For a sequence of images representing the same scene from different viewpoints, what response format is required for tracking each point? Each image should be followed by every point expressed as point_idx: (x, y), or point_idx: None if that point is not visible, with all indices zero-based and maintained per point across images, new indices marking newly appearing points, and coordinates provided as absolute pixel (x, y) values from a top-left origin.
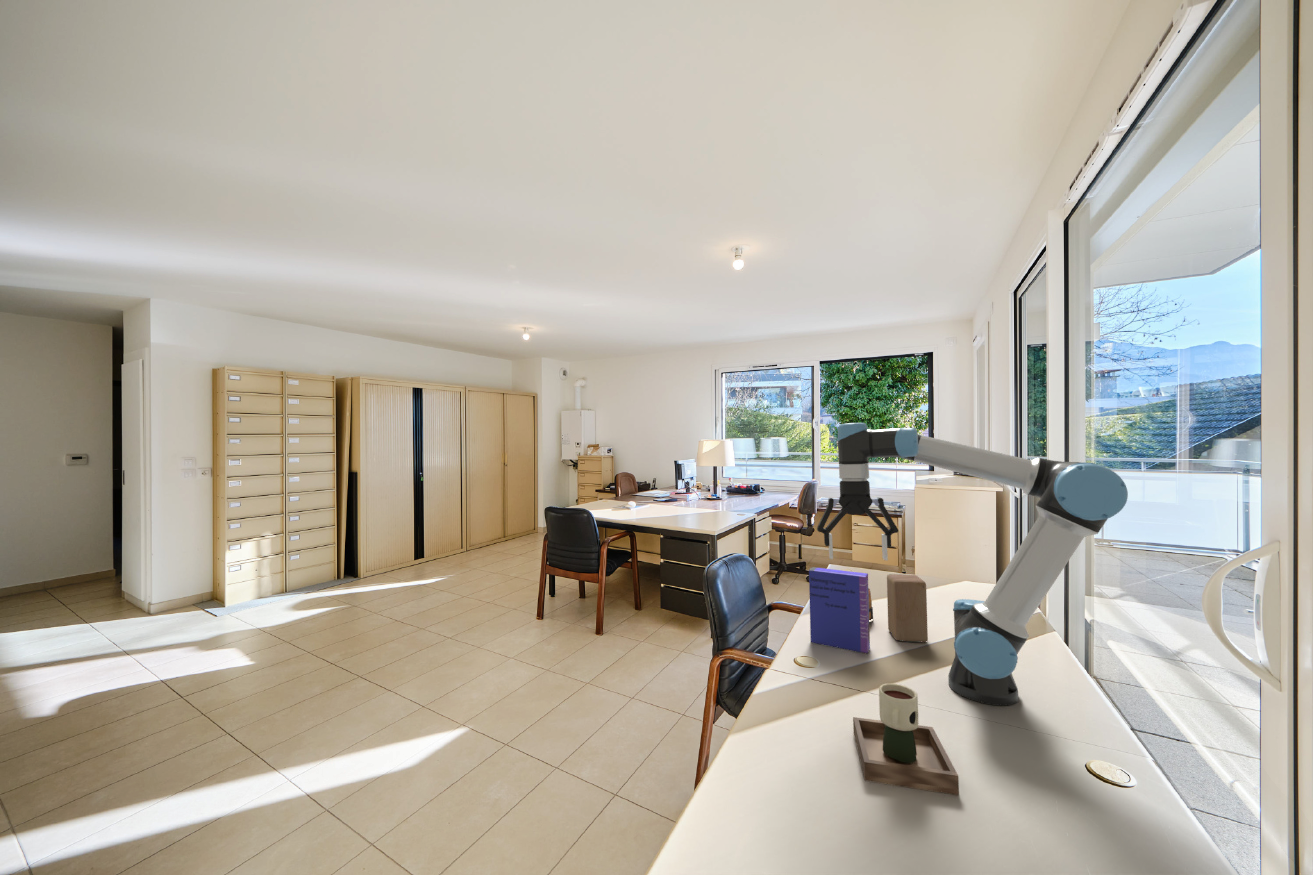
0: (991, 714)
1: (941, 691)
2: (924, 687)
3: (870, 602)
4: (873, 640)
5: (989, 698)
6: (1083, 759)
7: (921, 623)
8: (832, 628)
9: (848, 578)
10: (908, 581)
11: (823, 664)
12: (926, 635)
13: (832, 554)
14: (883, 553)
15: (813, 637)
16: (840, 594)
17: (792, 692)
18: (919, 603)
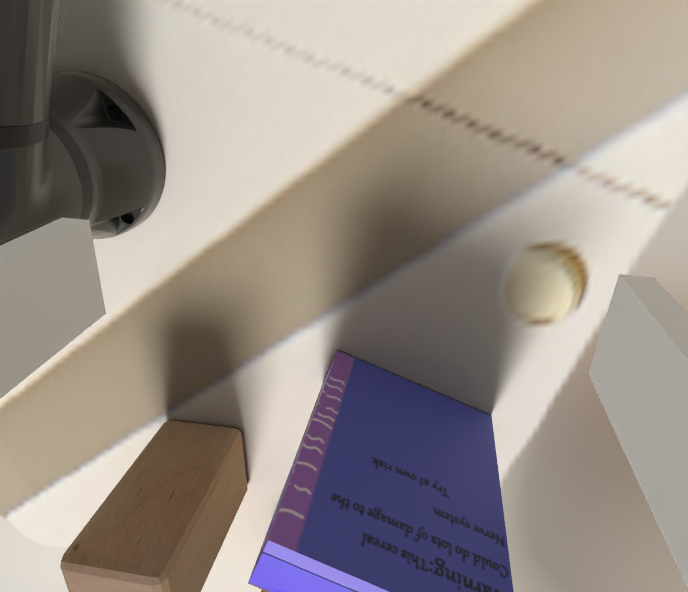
0: (96, 16)
1: (191, 136)
2: (230, 154)
3: (264, 590)
4: (301, 432)
5: (78, 73)
6: None
7: (153, 455)
8: (427, 424)
9: (344, 556)
10: (113, 573)
11: (491, 270)
12: (159, 431)
13: (644, 297)
14: (58, 288)
15: (483, 422)
16: (388, 506)
17: (666, 45)
18: (124, 501)
